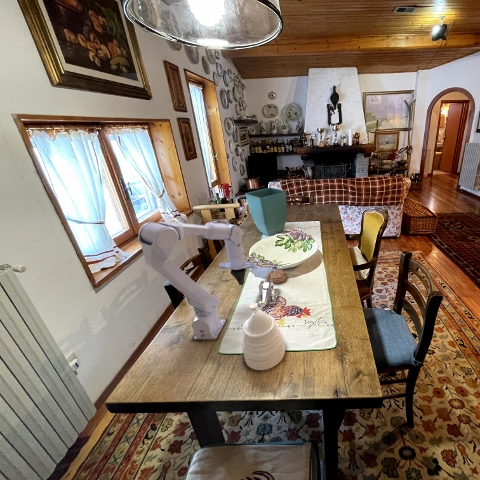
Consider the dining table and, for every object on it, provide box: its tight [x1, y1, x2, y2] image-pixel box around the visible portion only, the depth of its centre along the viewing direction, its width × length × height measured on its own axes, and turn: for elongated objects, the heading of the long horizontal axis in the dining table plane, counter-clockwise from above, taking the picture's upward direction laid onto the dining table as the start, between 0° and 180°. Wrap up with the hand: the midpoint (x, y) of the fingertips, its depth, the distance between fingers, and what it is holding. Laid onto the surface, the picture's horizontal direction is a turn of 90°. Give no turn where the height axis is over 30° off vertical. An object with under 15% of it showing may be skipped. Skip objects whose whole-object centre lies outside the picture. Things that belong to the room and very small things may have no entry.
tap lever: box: [259, 282, 270, 308], centre depth 104 cm, size 11×3×3 cm, turn 177°
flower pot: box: [244, 187, 288, 237], centre depth 173 cm, size 20×20×28 cm
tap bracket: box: [255, 280, 280, 306], centre depth 107 cm, size 10×8×7 cm
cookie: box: [265, 269, 288, 285], centre depth 122 cm, size 10×11×3 cm
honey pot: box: [241, 302, 286, 371], centre depth 78 cm, size 13×13×18 cm
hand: (241, 283), depth 103 cm, fingers closed
